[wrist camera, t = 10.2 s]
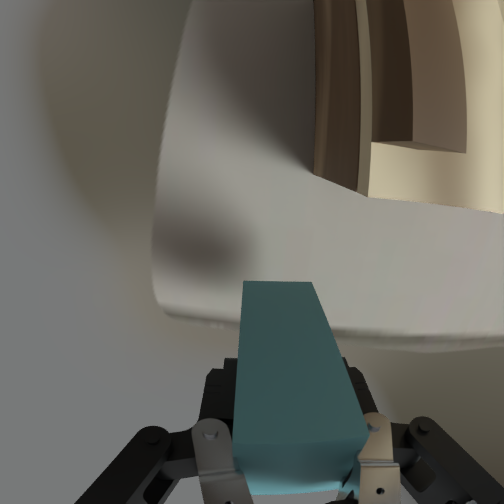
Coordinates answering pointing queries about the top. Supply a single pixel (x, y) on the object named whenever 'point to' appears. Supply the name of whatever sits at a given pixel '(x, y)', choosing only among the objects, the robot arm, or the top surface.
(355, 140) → the wooden box
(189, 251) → the top surface
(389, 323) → the top surface
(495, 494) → the robot arm
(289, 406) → the teal block
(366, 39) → the lid
